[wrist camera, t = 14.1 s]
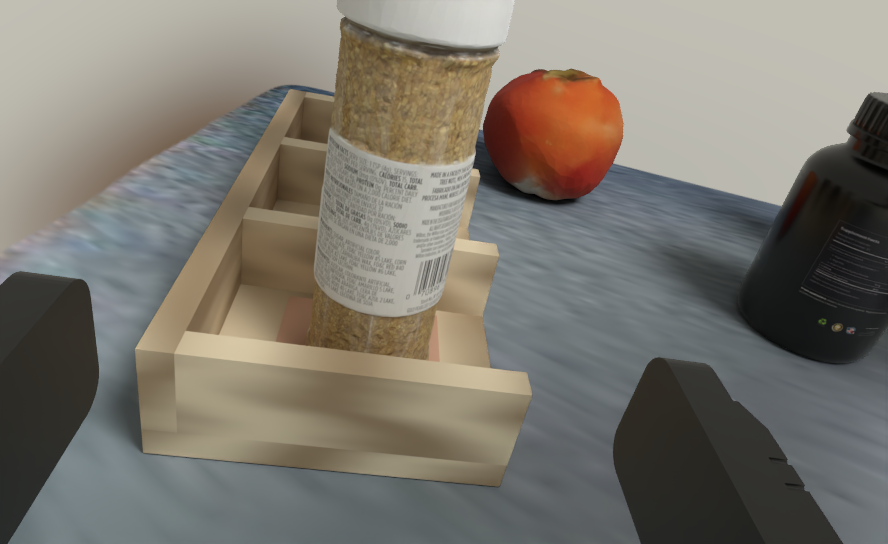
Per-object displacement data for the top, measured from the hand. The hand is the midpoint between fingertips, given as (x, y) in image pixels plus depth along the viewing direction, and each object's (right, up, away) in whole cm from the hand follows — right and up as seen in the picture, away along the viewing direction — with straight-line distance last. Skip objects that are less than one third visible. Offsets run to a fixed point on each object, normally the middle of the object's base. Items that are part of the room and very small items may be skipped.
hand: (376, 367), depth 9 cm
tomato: (+7, +7, +34) cm, 36 cm away
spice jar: (-2, -2, +14) cm, 14 cm away
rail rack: (-3, +2, +21) cm, 21 cm away
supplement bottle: (+20, -2, +24) cm, 31 cm away
